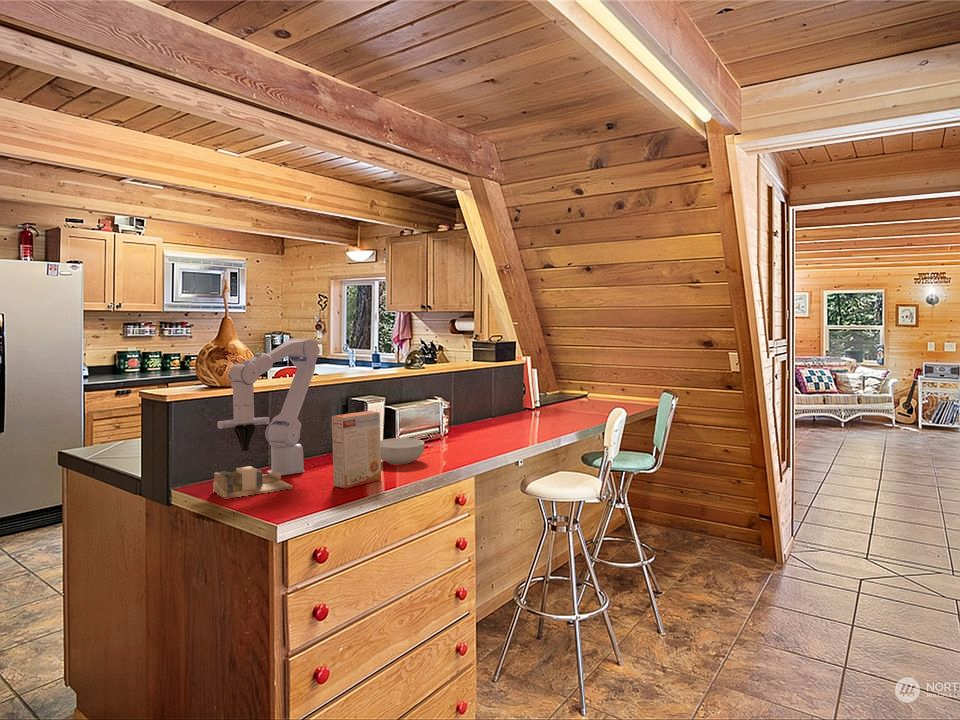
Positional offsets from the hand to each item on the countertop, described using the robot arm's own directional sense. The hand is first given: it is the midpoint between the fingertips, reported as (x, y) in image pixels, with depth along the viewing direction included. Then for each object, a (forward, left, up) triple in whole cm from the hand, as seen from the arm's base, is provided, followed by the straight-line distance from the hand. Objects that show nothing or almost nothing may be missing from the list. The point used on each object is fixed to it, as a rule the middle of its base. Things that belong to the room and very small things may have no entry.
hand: (244, 450), depth 189 cm
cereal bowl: (-51, +4, -10) cm, 52 cm away
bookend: (0, +9, -9) cm, 13 cm away
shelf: (+1, +10, -10) cm, 14 cm away
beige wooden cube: (+2, +9, -9) cm, 13 cm away
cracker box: (-26, +21, -10) cm, 35 cm away
